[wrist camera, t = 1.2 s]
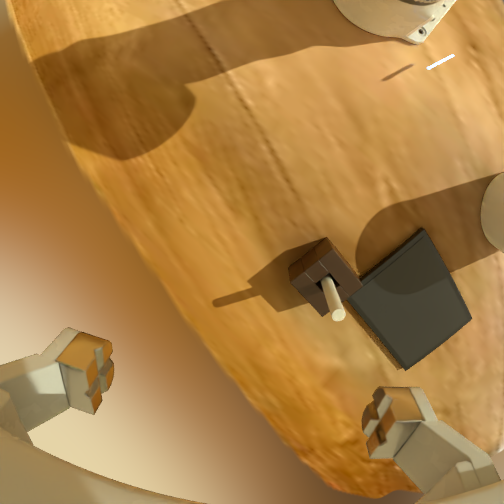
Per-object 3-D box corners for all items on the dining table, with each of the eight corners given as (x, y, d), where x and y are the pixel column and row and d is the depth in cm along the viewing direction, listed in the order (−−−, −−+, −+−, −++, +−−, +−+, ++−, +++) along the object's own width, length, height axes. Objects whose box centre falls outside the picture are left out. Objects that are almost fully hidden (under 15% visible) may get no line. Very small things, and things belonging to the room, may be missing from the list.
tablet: (421, 227, 44) (424, 229, 43) (470, 316, 49) (472, 318, 48) (341, 292, 48) (343, 295, 47) (403, 367, 53) (405, 371, 52)
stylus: (323, 262, 47) (340, 306, 34) (329, 270, 47) (348, 315, 35) (314, 269, 47) (328, 315, 35) (321, 276, 47) (336, 323, 35)
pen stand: (326, 236, 45) (332, 248, 41) (355, 271, 47) (363, 286, 42) (288, 267, 47) (290, 282, 42) (317, 300, 49) (322, 317, 44)
